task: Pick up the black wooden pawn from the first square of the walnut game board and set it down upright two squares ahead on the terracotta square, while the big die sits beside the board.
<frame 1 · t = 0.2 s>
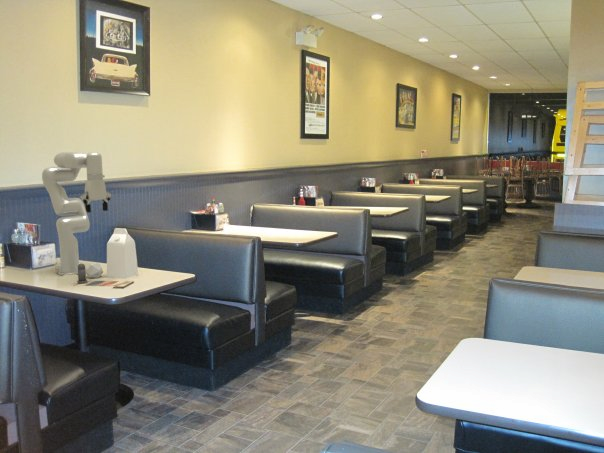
hand: (97, 211, 304), 36 cm above the table, tool pointing down, fingers open, 9 cm apart
milk: (122, 277, 321), on the table
pawn: (82, 282, 302), point 1 cm above the table, touching game board
die: (94, 279, 316), on the table
game board: (102, 284, 301), on the table
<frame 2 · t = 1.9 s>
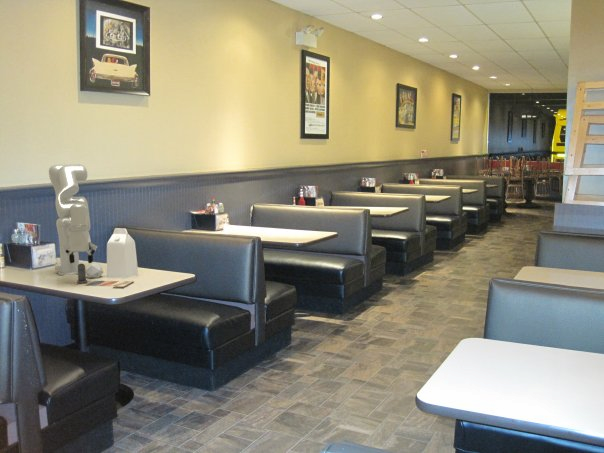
hand: (81, 262, 300), 11 cm above the table, tool pointing down, fingers open, 9 cm apart
nothing on the table moved.
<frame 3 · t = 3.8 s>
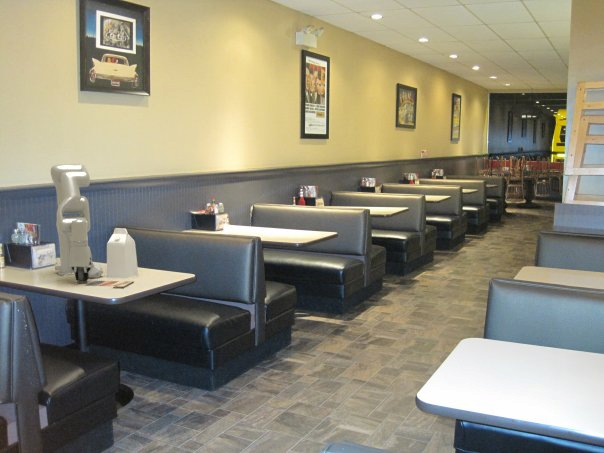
hand: (82, 279, 302), 3 cm above the table, tool pointing down, fingers closed on pawn, 3 cm apart
pawn: (82, 282, 302), point 1 cm above the table, touching game board, gripper
everything else where it was.
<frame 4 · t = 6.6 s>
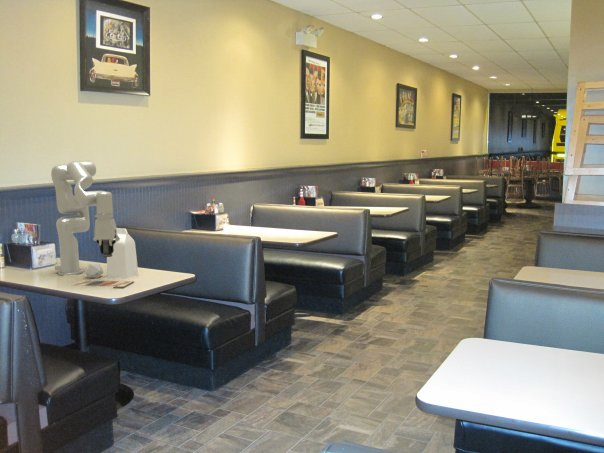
hand: (107, 252, 299), 16 cm above the table, tool pointing down, fingers closed on pawn, 3 cm apart
pawn: (107, 256, 299), point 15 cm above the table, touching gripper
everything else where it was.
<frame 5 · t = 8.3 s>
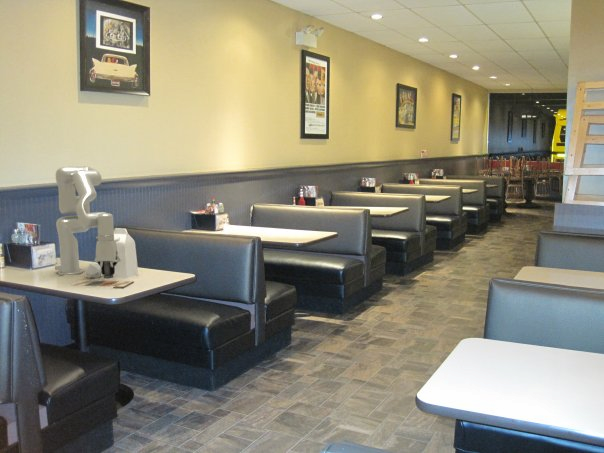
hand: (108, 274, 300), 6 cm above the table, tool pointing down, fingers closed on pawn, 3 cm apart
pawn: (108, 277, 300), point 4 cm above the table, touching gripper
everything else where it was.
when the fingers open (4 cm above the table, at t = 9.4 s): pawn drops 1 cm, resting on game board.
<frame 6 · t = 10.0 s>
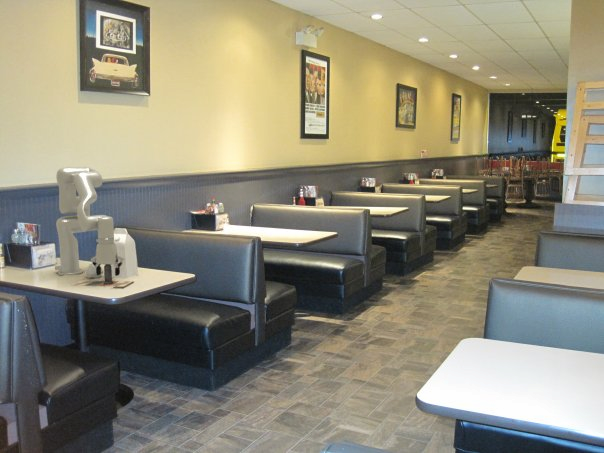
hand: (108, 275, 300), 5 cm above the table, tool pointing down, fingers open, 9 cm apart
pawn: (108, 283, 301), point 1 cm above the table, touching game board
everything else where it was.
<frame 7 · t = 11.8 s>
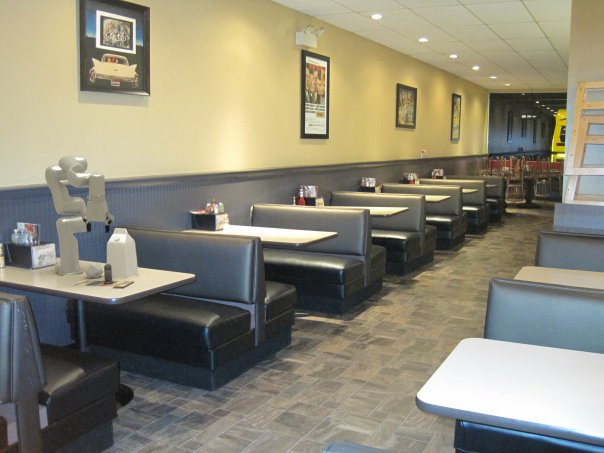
hand: (98, 232, 303), 26 cm above the table, tool pointing down, fingers open, 9 cm apart
nothing on the table moved.
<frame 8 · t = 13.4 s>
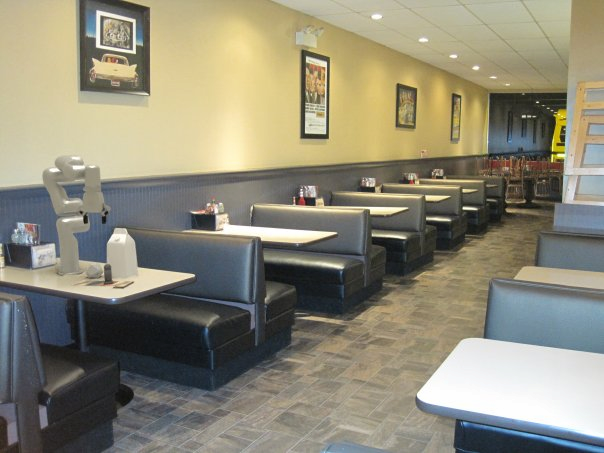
hand: (95, 223, 304), 30 cm above the table, tool pointing down, fingers open, 9 cm apart
nothing on the table moved.
at the end: pawn 0.0 cm from the target spot on the game board, point 0.8 cm above the game board's base; pawn tilted 1°; the gripper is holding nothing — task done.
